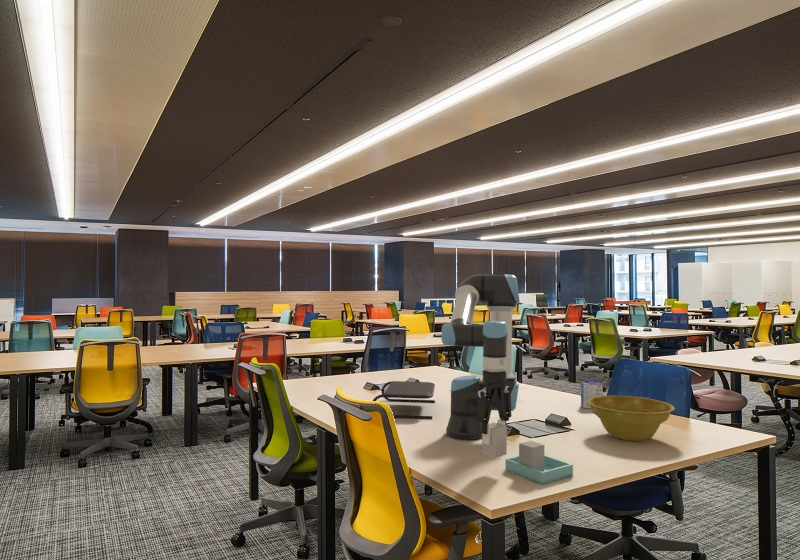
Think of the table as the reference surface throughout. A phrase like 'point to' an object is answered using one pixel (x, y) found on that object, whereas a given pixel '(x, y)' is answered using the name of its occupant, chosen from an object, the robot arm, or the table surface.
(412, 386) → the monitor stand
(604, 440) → the table surface
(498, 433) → the stone
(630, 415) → the planter bowl
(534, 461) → the stone
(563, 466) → the bin
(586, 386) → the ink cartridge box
